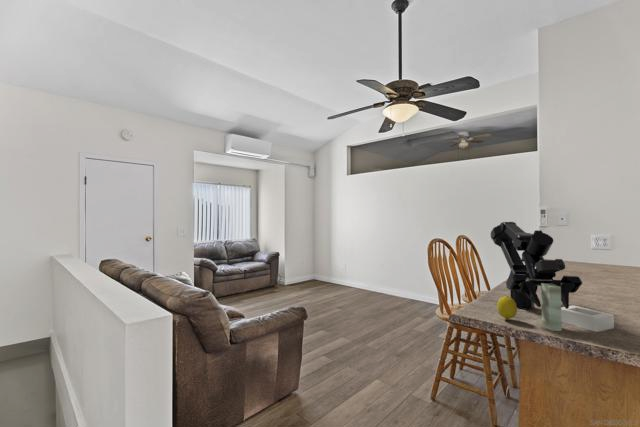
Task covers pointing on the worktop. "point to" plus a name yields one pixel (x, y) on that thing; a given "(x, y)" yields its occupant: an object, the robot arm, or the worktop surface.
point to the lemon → (507, 307)
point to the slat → (551, 306)
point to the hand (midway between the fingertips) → (553, 307)
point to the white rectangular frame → (587, 318)
